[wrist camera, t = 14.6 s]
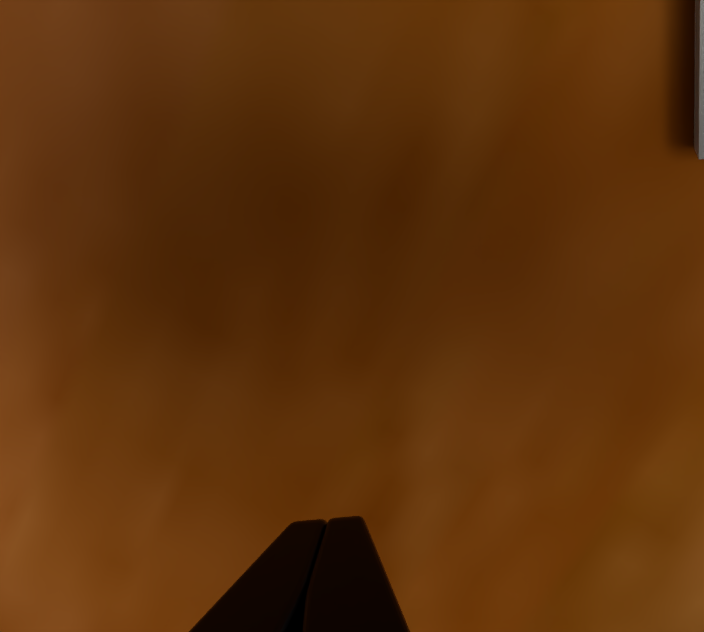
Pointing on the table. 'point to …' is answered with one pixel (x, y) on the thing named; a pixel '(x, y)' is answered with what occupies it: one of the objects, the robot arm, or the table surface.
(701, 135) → the grey domino block
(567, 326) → the table surface
